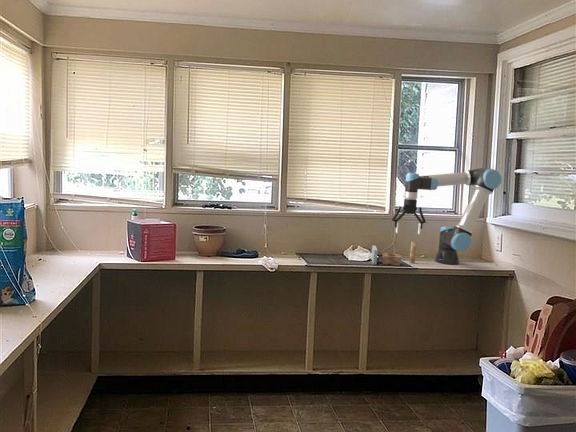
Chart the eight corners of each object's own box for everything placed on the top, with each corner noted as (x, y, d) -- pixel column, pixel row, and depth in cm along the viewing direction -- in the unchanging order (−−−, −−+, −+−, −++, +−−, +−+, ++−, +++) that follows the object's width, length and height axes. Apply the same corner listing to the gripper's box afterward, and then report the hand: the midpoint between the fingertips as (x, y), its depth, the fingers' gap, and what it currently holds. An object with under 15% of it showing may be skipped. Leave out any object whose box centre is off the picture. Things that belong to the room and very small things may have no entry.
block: (398, 262, 376) (398, 254, 376) (400, 265, 366) (400, 257, 366) (381, 261, 377) (382, 253, 376) (383, 264, 367) (384, 255, 366)
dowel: (414, 262, 380) (416, 242, 379) (414, 263, 377) (416, 242, 375) (409, 262, 380) (410, 241, 379) (409, 263, 377) (411, 242, 376)
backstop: (374, 259, 380) (375, 245, 379) (376, 264, 364) (377, 250, 363) (370, 259, 380) (372, 245, 379) (373, 264, 364) (374, 249, 363)
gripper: (429, 199, 371) (426, 233, 373) (389, 197, 371) (386, 231, 373) (432, 200, 364) (429, 235, 366) (391, 198, 363) (388, 233, 366)
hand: (407, 233), depth 370 cm, fingers open, 13 cm apart
